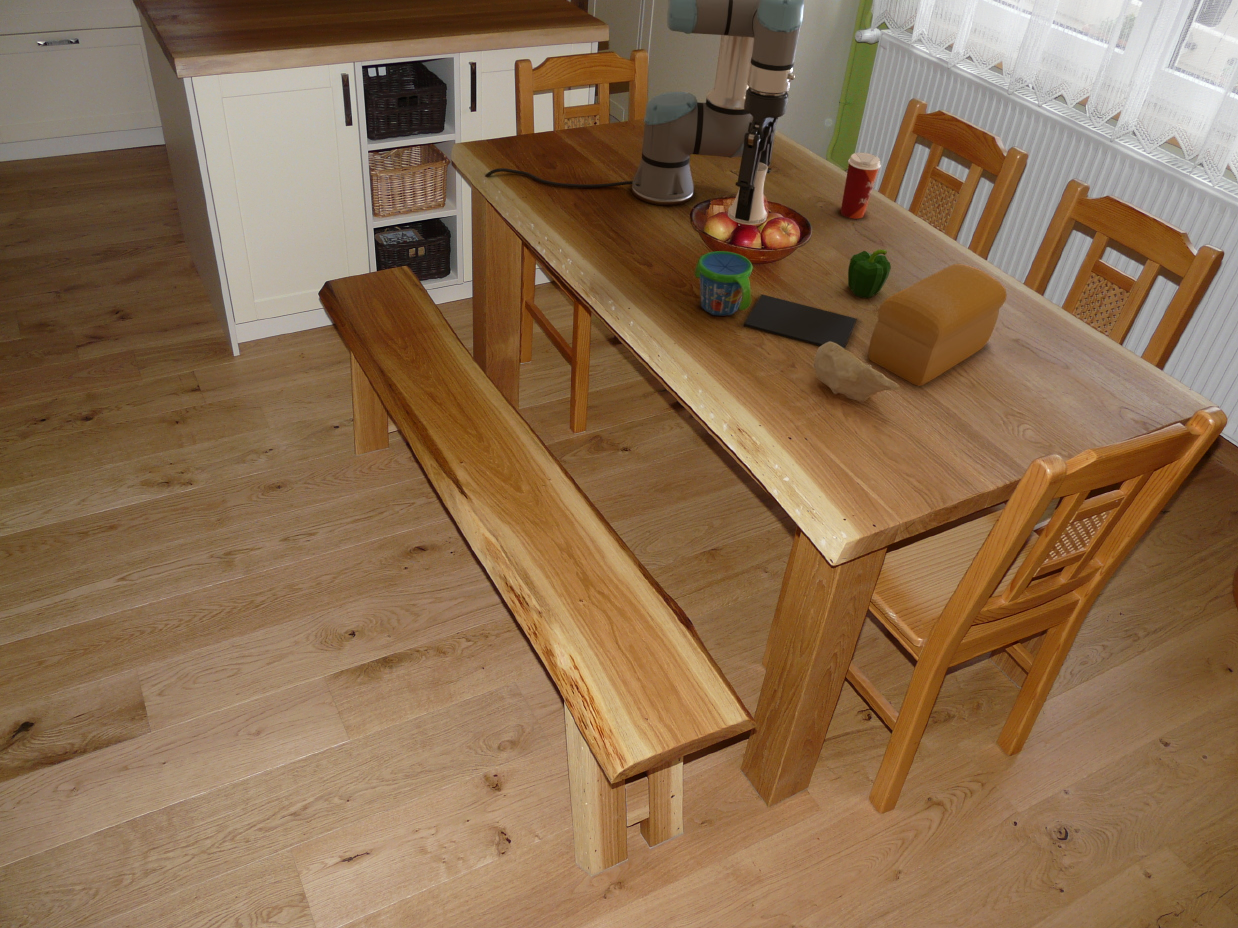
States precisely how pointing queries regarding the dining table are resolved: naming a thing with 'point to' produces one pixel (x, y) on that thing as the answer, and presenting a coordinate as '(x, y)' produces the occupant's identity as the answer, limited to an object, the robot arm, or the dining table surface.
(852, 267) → the bell pepper
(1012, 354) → the dining table surface
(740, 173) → the robot arm
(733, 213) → the vase
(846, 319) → the placemat
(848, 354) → the beige lumpy piece
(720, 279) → the snack cup
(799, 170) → the dining table surface
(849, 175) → the paper cup
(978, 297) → the bread
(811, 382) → the dining table surface
